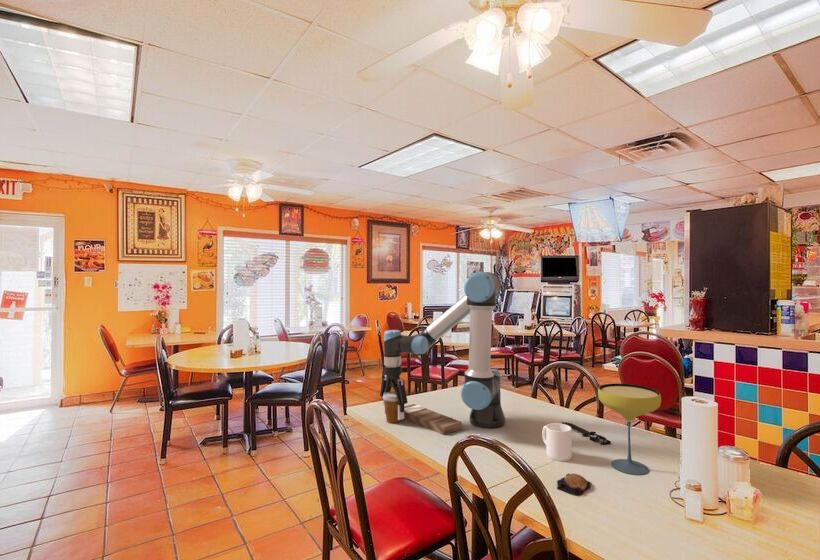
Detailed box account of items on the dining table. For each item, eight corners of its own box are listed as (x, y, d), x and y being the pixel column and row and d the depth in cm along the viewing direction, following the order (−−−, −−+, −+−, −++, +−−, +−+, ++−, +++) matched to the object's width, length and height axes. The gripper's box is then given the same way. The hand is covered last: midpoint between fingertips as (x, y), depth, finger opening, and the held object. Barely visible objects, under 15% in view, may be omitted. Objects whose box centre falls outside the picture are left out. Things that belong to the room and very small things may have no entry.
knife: (558, 423, 176) (558, 420, 176) (571, 422, 177) (571, 419, 177) (598, 447, 151) (598, 443, 151) (613, 444, 152) (613, 441, 152)
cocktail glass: (598, 452, 146) (596, 381, 145) (656, 459, 139) (655, 385, 139) (600, 474, 129) (599, 395, 129) (667, 485, 122) (666, 400, 122)
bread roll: (566, 477, 129) (566, 465, 129) (594, 485, 123) (594, 473, 124) (552, 490, 121) (552, 477, 121) (581, 499, 116) (581, 486, 116)
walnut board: (461, 429, 170) (461, 421, 170) (443, 435, 164) (443, 427, 164) (414, 410, 195) (413, 403, 195) (396, 414, 189) (396, 407, 189)
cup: (558, 463, 137) (558, 433, 137) (534, 450, 148) (533, 422, 148) (577, 458, 141) (576, 429, 141) (551, 446, 152) (551, 418, 152)
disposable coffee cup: (405, 417, 185) (405, 390, 185) (403, 425, 176) (402, 397, 176) (384, 417, 186) (384, 390, 186) (381, 424, 177) (380, 396, 177)
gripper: (415, 368, 174) (416, 420, 174) (385, 360, 192) (386, 408, 192) (401, 371, 169) (402, 424, 170) (371, 362, 188) (372, 411, 188)
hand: (393, 416), depth 181 cm, fingers open, 10 cm apart
